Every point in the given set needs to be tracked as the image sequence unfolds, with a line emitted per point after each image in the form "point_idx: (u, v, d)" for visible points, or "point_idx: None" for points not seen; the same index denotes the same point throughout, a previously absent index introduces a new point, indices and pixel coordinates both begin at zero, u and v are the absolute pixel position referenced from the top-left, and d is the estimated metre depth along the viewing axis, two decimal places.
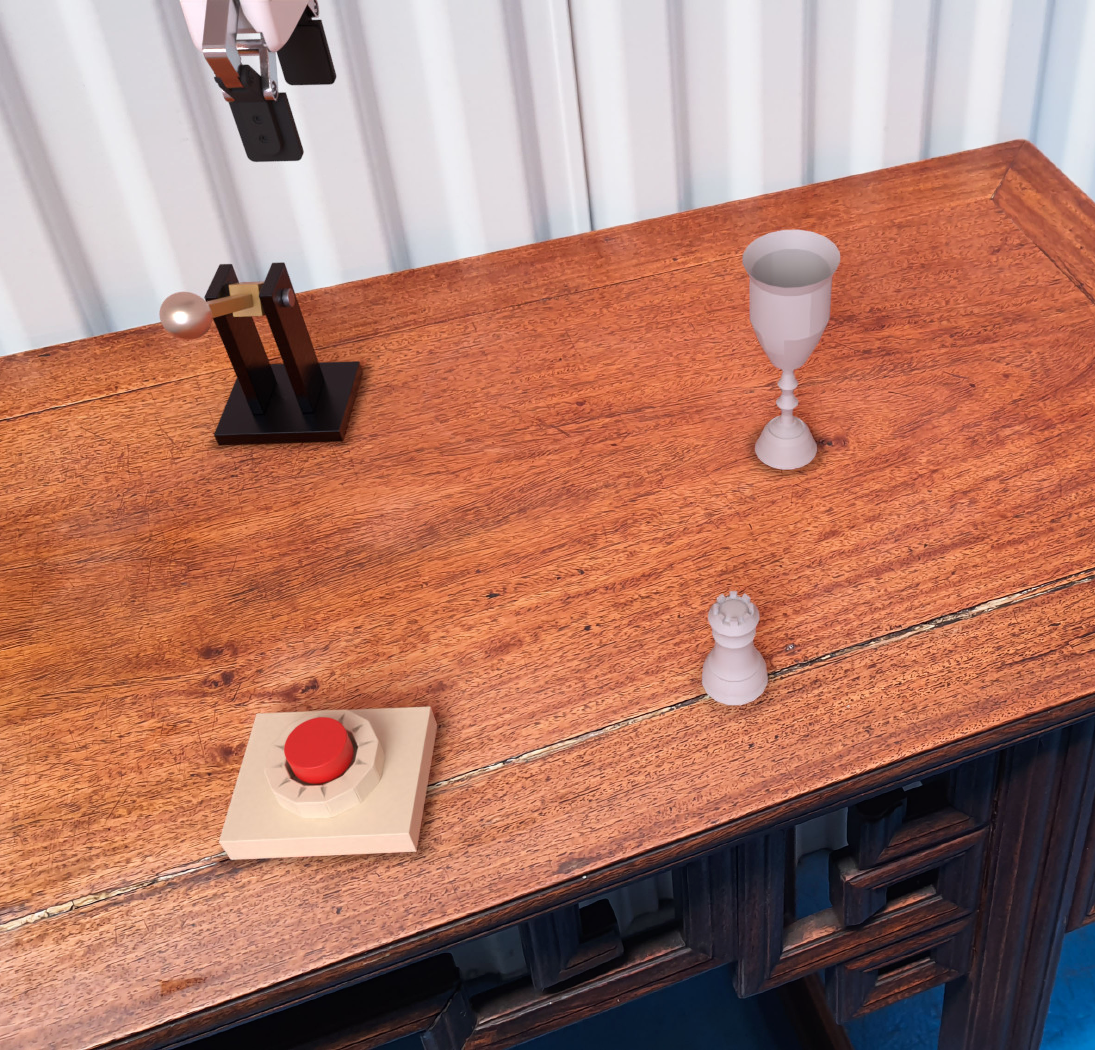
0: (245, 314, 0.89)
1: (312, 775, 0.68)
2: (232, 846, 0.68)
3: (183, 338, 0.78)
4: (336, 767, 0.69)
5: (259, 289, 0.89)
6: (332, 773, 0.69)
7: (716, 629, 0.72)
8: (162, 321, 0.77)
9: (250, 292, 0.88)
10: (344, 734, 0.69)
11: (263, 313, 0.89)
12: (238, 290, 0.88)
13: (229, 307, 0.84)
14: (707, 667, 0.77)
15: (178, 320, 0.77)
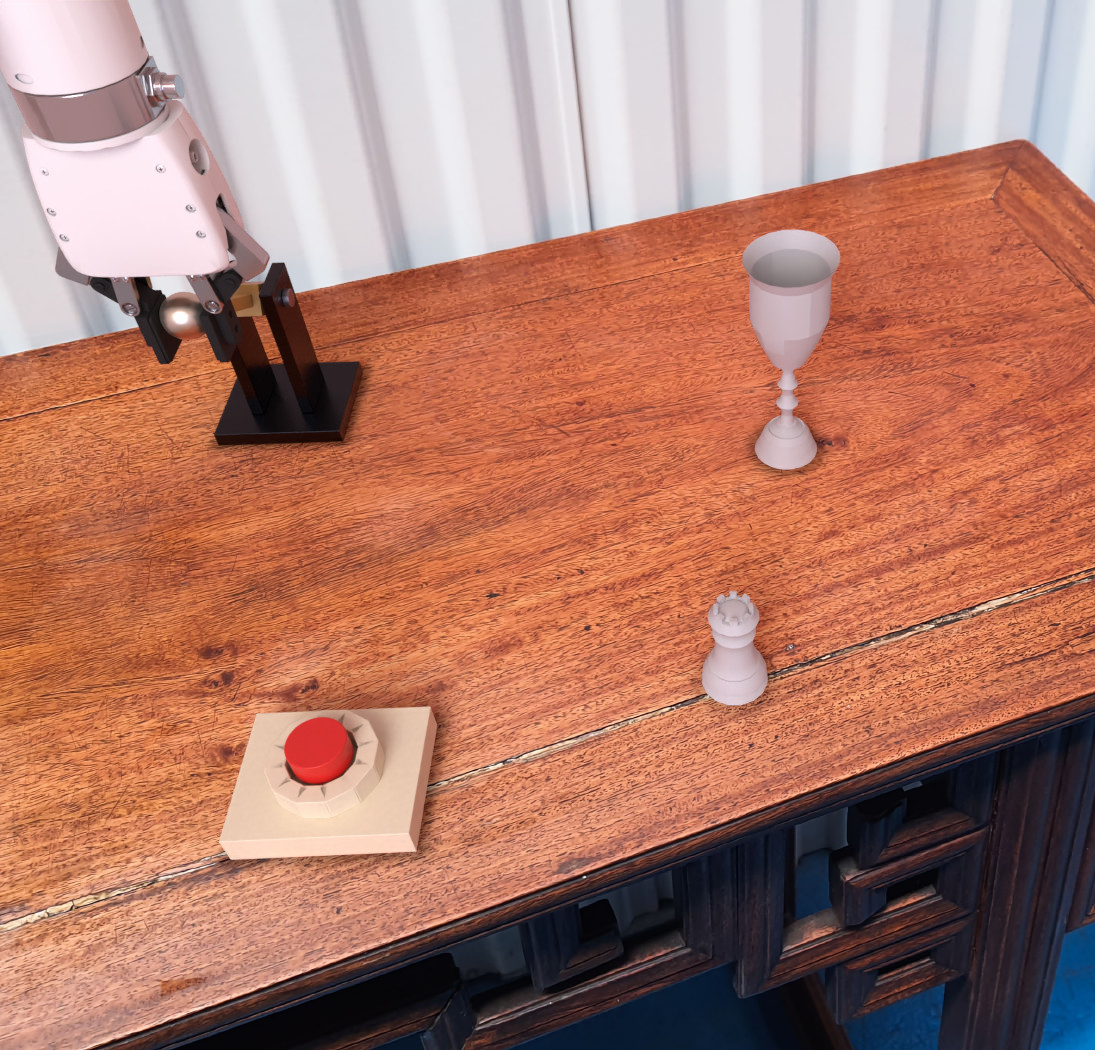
0: (245, 314, 0.89)
1: (312, 775, 0.68)
2: (232, 846, 0.68)
3: (183, 338, 0.78)
4: (336, 767, 0.69)
5: (259, 289, 0.89)
6: (332, 773, 0.69)
7: (716, 629, 0.72)
8: (162, 321, 0.77)
9: (250, 292, 0.88)
10: (344, 734, 0.69)
11: (263, 313, 0.89)
12: (238, 290, 0.88)
13: None
14: (707, 667, 0.77)
15: (178, 320, 0.77)
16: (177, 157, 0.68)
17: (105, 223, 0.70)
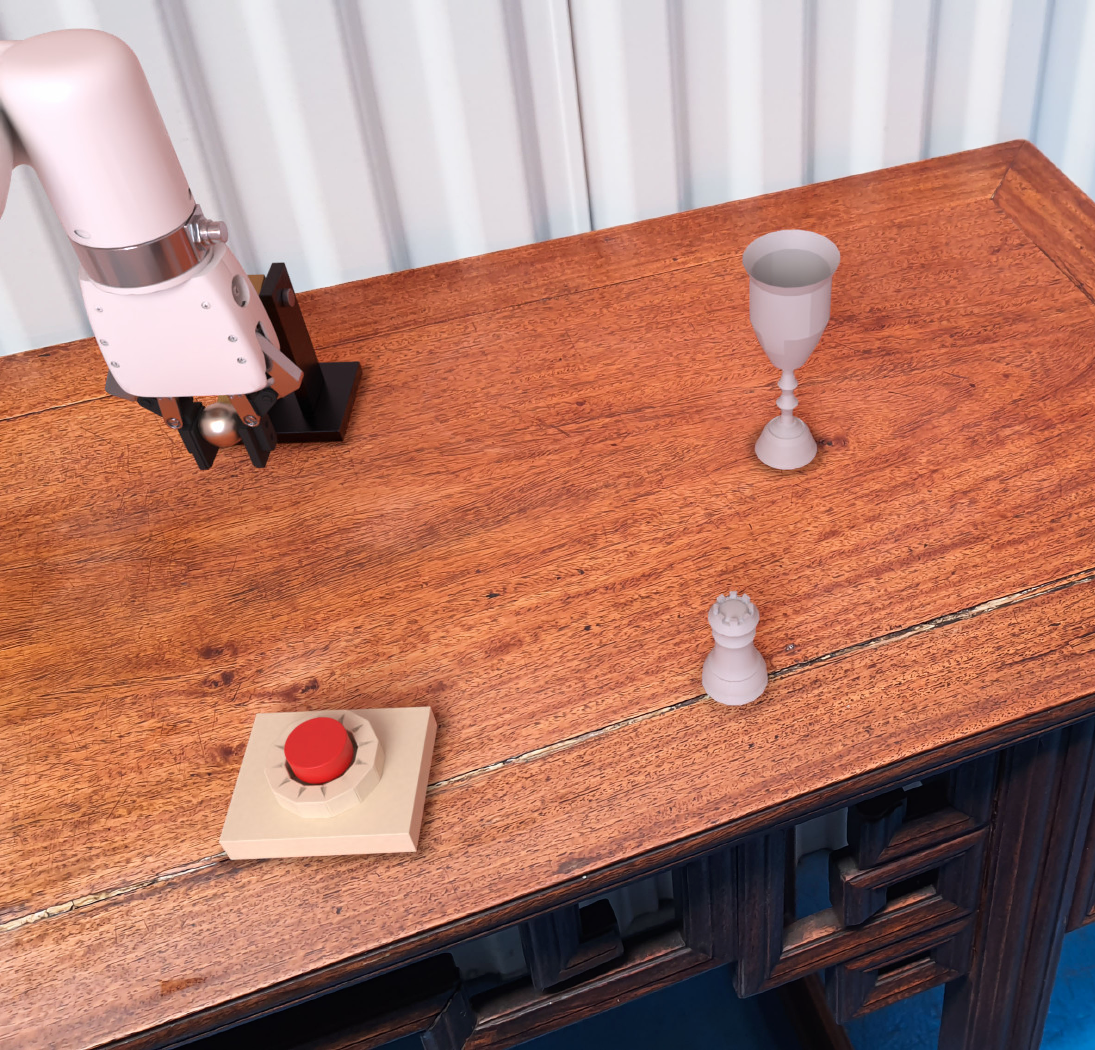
0: None
1: (312, 775, 0.68)
2: (232, 846, 0.68)
3: None
4: (336, 767, 0.69)
5: None
6: (332, 773, 0.69)
7: (716, 629, 0.72)
8: (205, 439, 0.83)
9: None
10: (344, 734, 0.69)
11: None
12: None
13: None
14: (707, 667, 0.77)
15: (221, 442, 0.83)
16: (221, 295, 0.74)
17: (153, 352, 0.76)
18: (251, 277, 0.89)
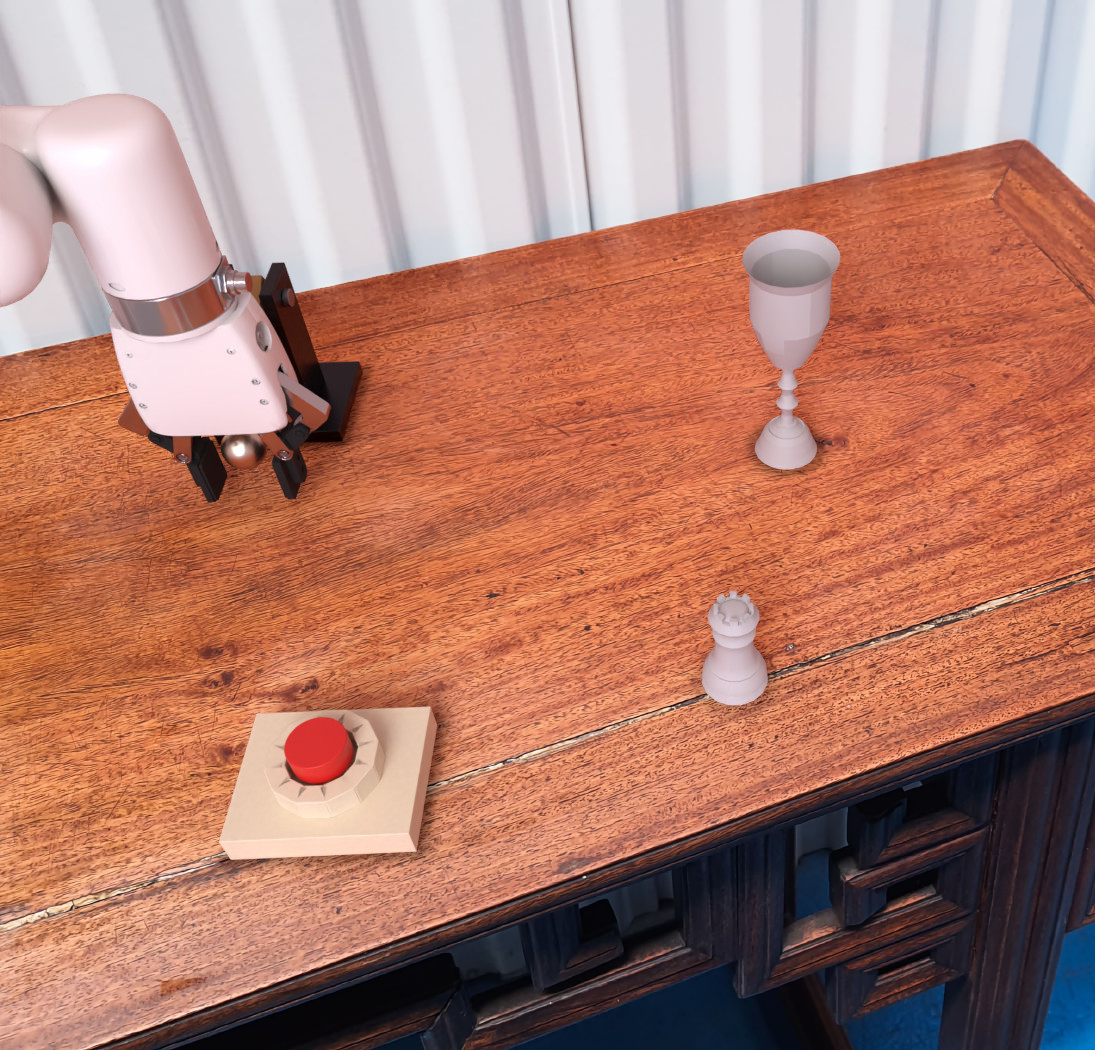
0: None
1: (312, 775, 0.68)
2: (232, 846, 0.68)
3: None
4: (336, 767, 0.69)
5: None
6: (332, 773, 0.69)
7: (716, 629, 0.72)
8: (229, 464, 0.87)
9: None
10: (344, 734, 0.69)
11: None
12: None
13: None
14: (707, 667, 0.77)
15: (245, 468, 0.87)
16: (245, 341, 0.77)
17: (180, 395, 0.80)
18: None
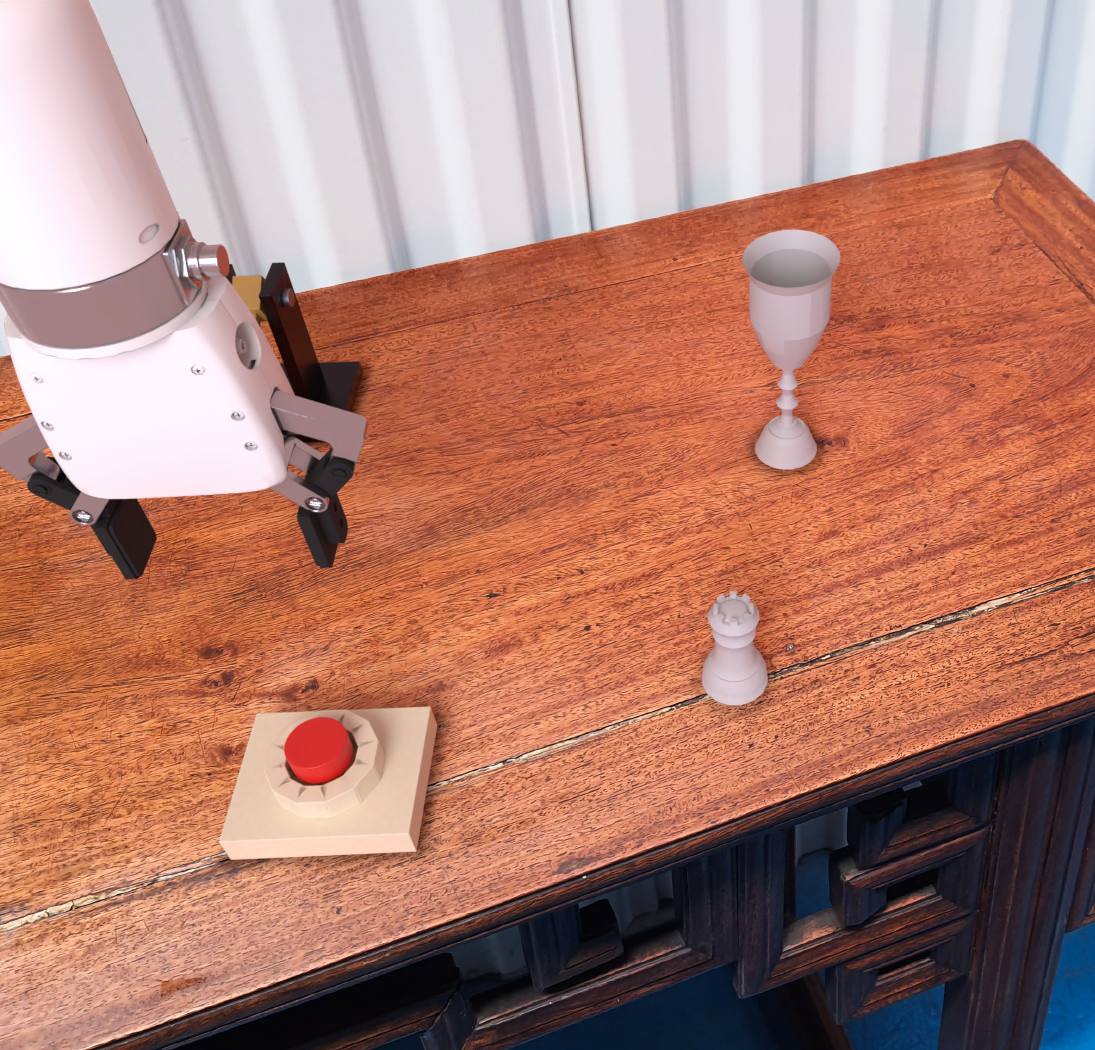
0: None
1: (312, 775, 0.68)
2: (232, 846, 0.68)
3: None
4: (336, 767, 0.69)
5: (261, 309, 0.89)
6: (332, 773, 0.69)
7: (716, 629, 0.72)
8: None
9: (254, 312, 0.89)
10: (344, 734, 0.69)
11: None
12: None
13: None
14: (707, 667, 0.77)
15: None
16: (220, 354, 0.50)
17: (121, 438, 0.52)
18: (249, 279, 0.89)
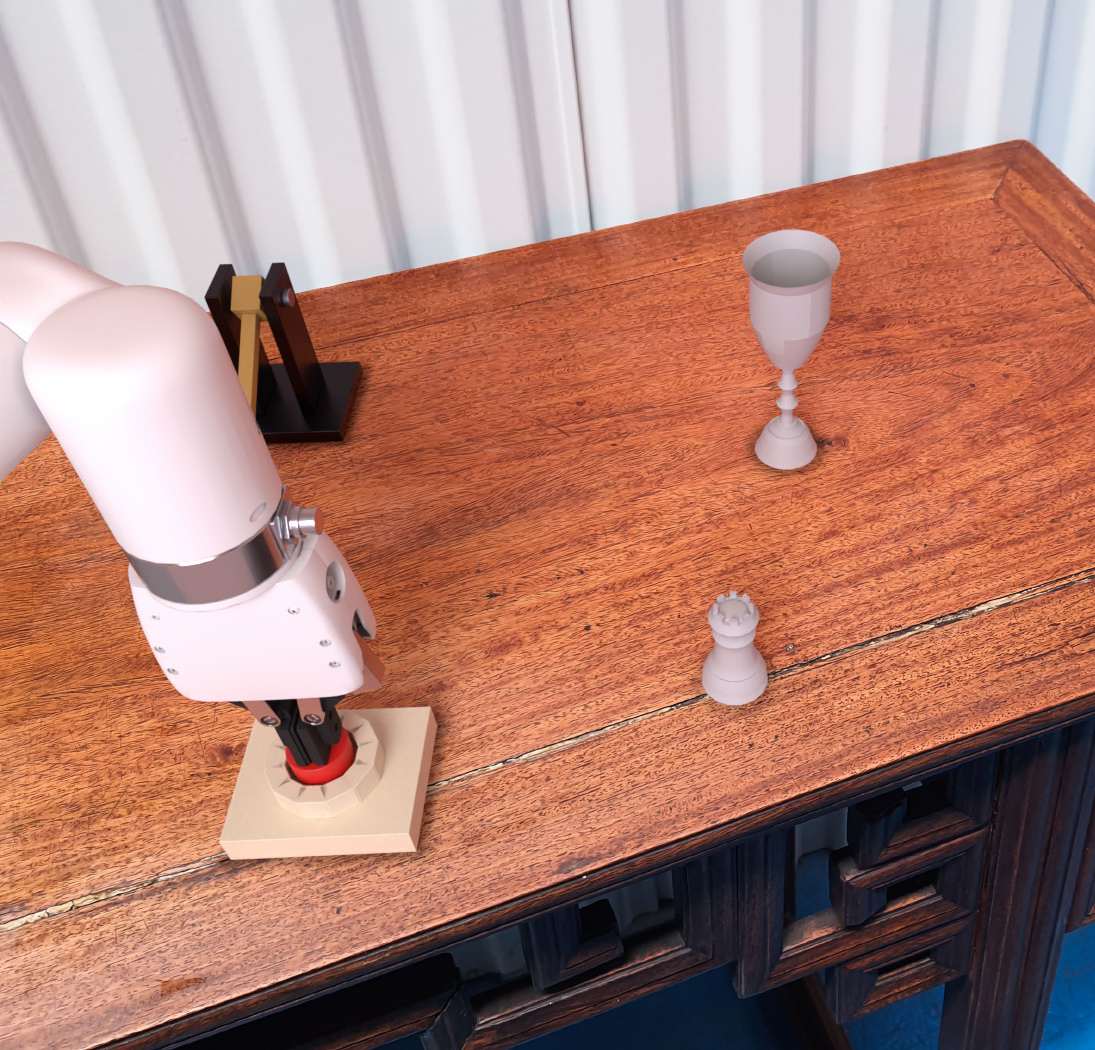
0: None
1: (313, 777, 0.68)
2: (232, 846, 0.68)
3: None
4: (337, 769, 0.69)
5: (261, 309, 0.89)
6: (333, 775, 0.69)
7: (716, 629, 0.72)
8: None
9: (254, 312, 0.89)
10: (346, 736, 0.69)
11: None
12: (241, 312, 0.89)
13: (255, 371, 0.89)
14: (707, 667, 0.77)
15: None
16: (313, 597, 0.57)
17: (223, 660, 0.59)
18: (249, 279, 0.89)
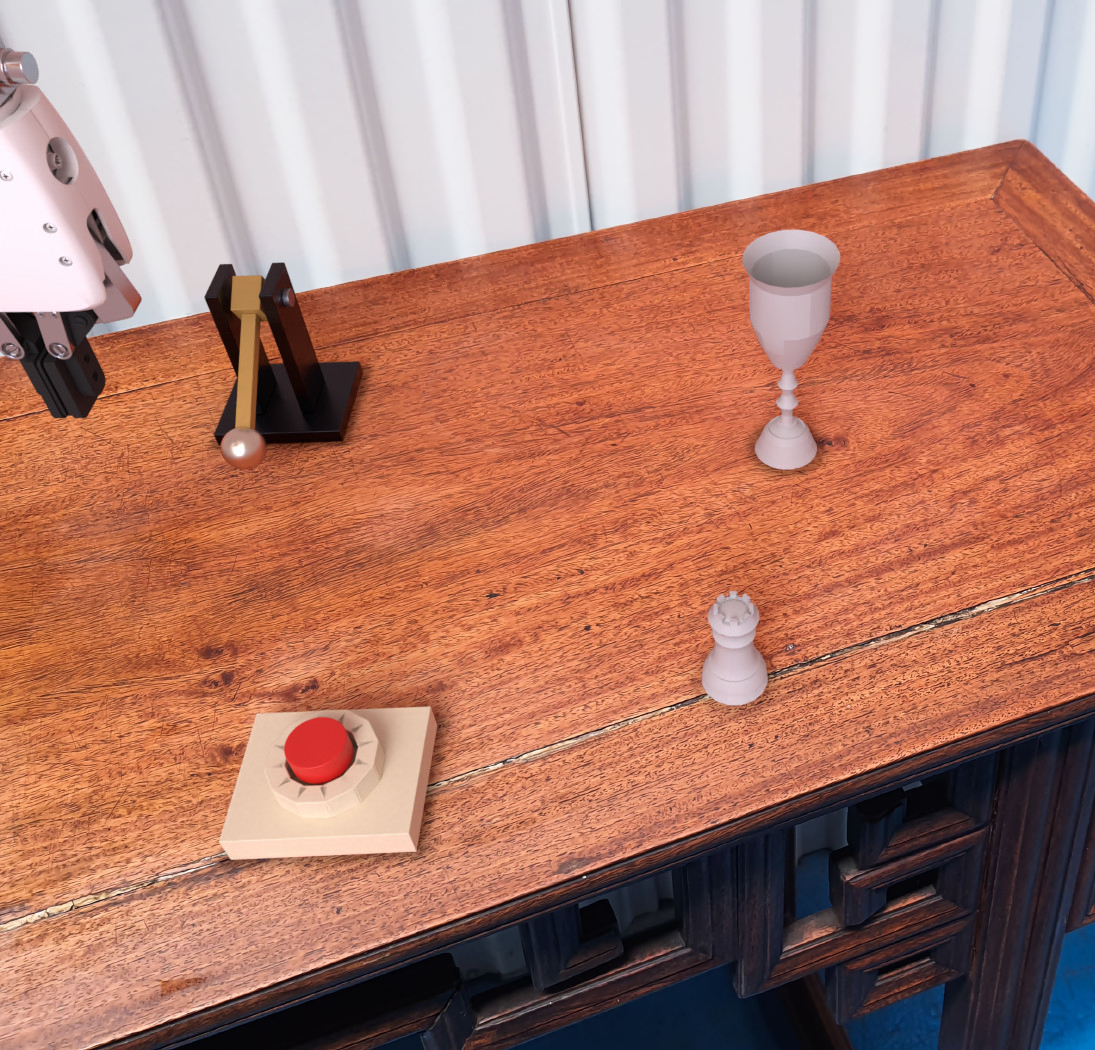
0: None
1: (312, 775, 0.68)
2: (232, 846, 0.68)
3: None
4: (336, 767, 0.69)
5: (261, 309, 0.89)
6: (332, 773, 0.69)
7: (716, 629, 0.72)
8: (229, 464, 0.87)
9: (254, 312, 0.89)
10: (344, 734, 0.69)
11: None
12: (241, 312, 0.89)
13: (255, 371, 0.89)
14: (707, 667, 0.77)
15: (245, 468, 0.87)
16: (28, 161, 0.52)
17: None
18: (249, 279, 0.89)
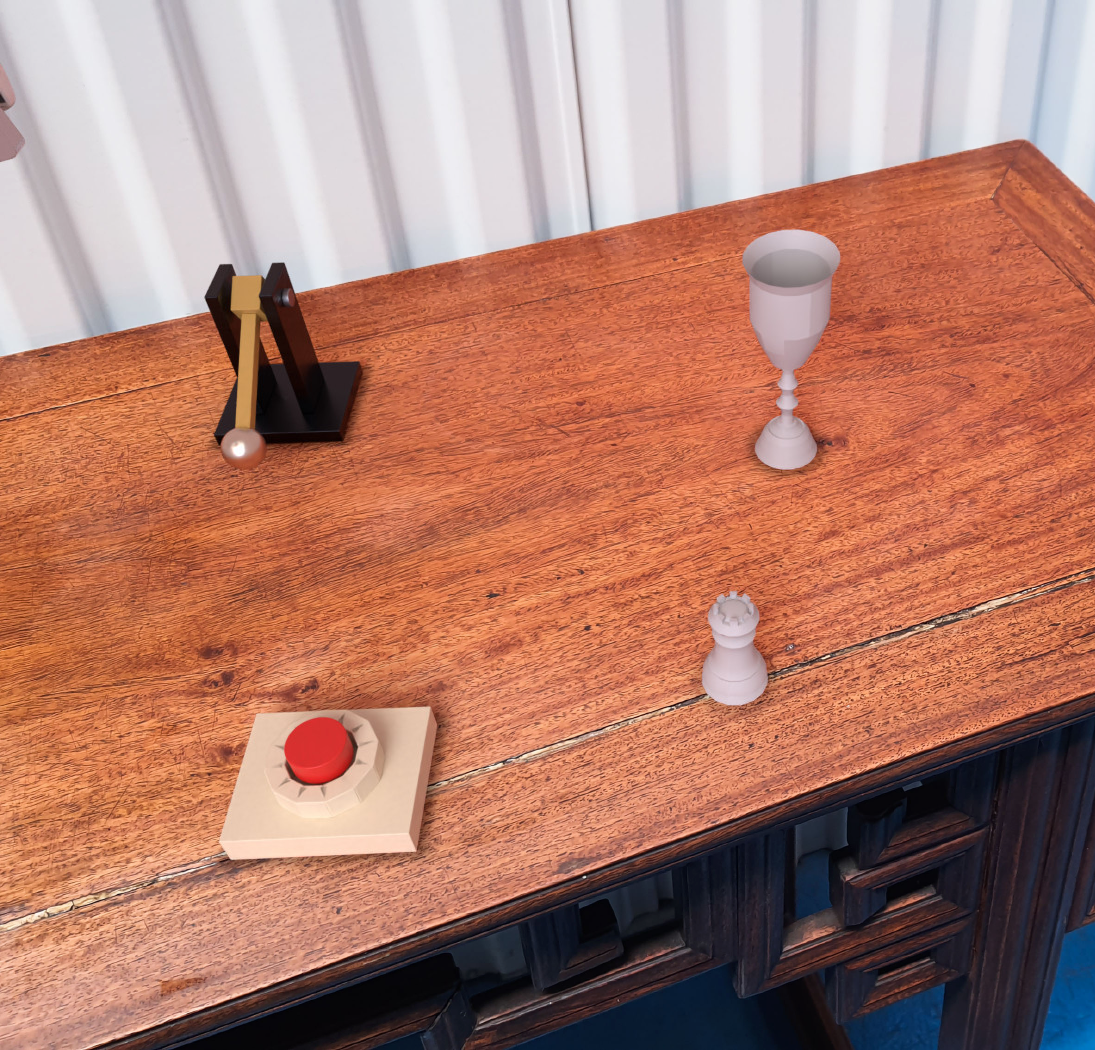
0: None
1: (312, 775, 0.68)
2: (232, 846, 0.68)
3: None
4: (336, 767, 0.69)
5: (261, 309, 0.89)
6: (332, 773, 0.69)
7: (716, 629, 0.72)
8: (229, 464, 0.87)
9: (254, 312, 0.89)
10: (344, 734, 0.69)
11: None
12: (241, 312, 0.89)
13: (255, 371, 0.89)
14: (707, 667, 0.77)
15: (245, 468, 0.87)
16: None
17: None
18: (249, 279, 0.89)
